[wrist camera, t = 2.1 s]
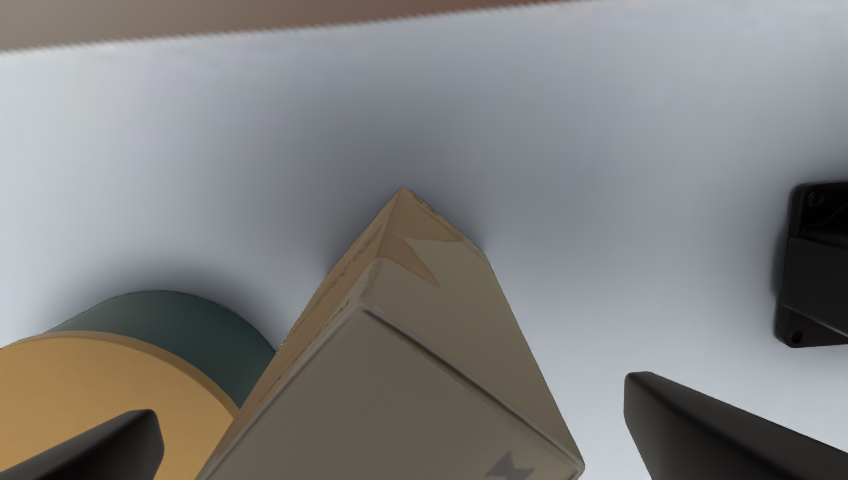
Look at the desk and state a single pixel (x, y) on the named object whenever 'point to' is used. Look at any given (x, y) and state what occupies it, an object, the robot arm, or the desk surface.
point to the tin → (132, 376)
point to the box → (402, 373)
